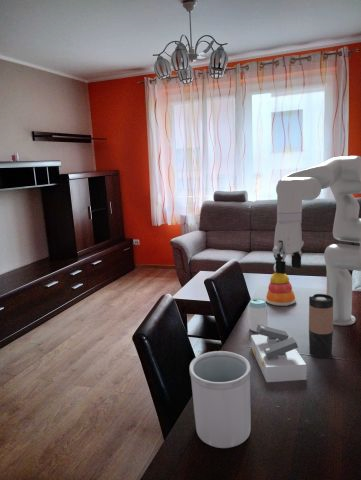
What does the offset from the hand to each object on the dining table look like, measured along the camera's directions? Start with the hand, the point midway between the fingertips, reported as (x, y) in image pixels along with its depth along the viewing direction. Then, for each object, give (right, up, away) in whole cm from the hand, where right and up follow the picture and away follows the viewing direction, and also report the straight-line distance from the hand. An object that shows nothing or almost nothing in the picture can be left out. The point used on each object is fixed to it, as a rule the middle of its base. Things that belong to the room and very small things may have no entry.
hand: (288, 270), depth 122 cm
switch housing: (-3, -31, +2) cm, 31 cm away
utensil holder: (-25, -38, -28) cm, 53 cm away
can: (-4, -26, +28) cm, 38 cm away
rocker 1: (-4, -23, +6) cm, 24 cm away
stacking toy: (+12, -20, +55) cm, 60 cm away
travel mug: (+13, -29, +7) cm, 32 cm away
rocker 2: (-4, -25, -5) cm, 25 cm away
